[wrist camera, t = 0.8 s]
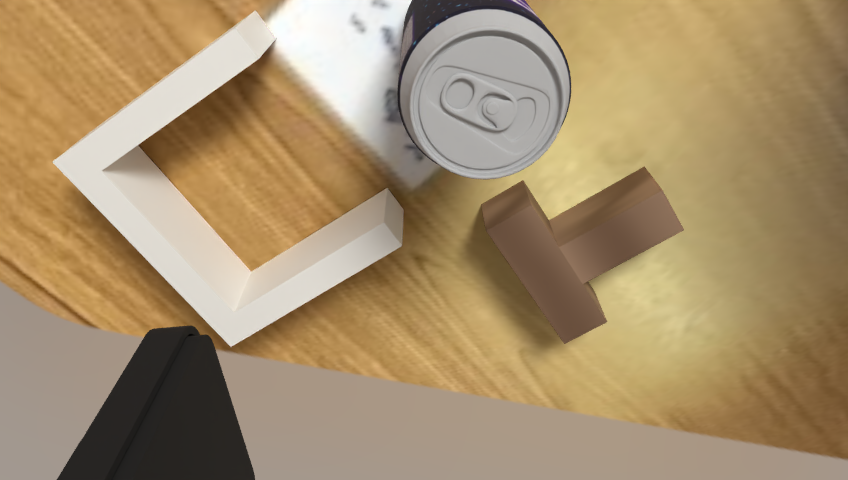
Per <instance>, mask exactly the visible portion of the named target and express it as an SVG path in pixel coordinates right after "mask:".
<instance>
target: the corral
mask: <svg viewBox="0 0 848 480" xmlns="http://www.w3.org/2000/svg"><path fill="white" fill-rule="evenodd" d="M275 39H276V37H275V36H274V34H273V33H272V32H271V30H270V29H269V28H268V26H267V25H266V24H265V22H264V21H263V20H262V18H261V17H260V16H259V14H258V13H257V12H256V10H255V11H254V12H252V13H251V14H250V15H248V16H247V17H246V18H244V19H243V20H242V21H240V22H239V23H238V24H236V25H235V26H233V27H232V28H231V29H229V30H228V31H227V32H225V33H224V34H223V35H221V36H220V37H218V38H217V39H216V40H214V41H213V42H212V43H210V44H209V45H208V46H206V47H205V48H204V49H202V50H201V51H199V52H198V53H197V54H195V55H194V56H193V57H191V58H190V59H189V60H187V61H186V62H185V63H183V64H182V65H180V66H179V67H178V68H176V69H175V70H174V71H172V72H171V73H170V74H168V75H167V76H165V77H164V78H163V79H161V80H160V81H159V82H157V83H156V84H155V85H153V86H152V87H151V88H149V89H148V90H146V91H145V92H144V93H142V94H141V95H140V96H138V97H137V98H136V99H134V100H133V101H132V102H130V103H129V104H127V105H126V106H125V107H123V108H122V109H121V110H119V111H118V112H117V113H115V114H114V115H112V116H111V117H110V118H108V119H107V120H106V121H104V122H103V123H102V124H100V125H99V126H98V127H96V128H95V129H93V130H92V131H91V132H89V133H88V134H87V135H86V136H84V137H83V138H82V139H81V140H79V141H78V142H77V143H76V144H74V145H73V146H72V147H71V148H69V149H68V150H67V151H66V152H64V153H63V154H62V155H61V156H59V157H58V158H57V159H56V160H54V161H53V163H54V164H55V165H56V166H57V167H58V168H59V169H60V170H61V171H62V173H63V174H64V175H65V176H66V177H67V178H68V179H69V180H70V181H71V182H72V183H73V184H74V185H75V186H76V187H77V188H78V189H79V190H80V191H81V192H82V193H83V194H84V195H85V196H86V197H87V198H88V199H89V201H90V202H91V203H92V204H93V205H94V206H95V207H96V208H97V209H98V210H99V211H100V212H101V213H102V214H103V215H104V216H105V217H106V218H107V219H108V220H109V221H110V222H111V223H112V224H113V225H114V226H115V227H116V228H117V230H118V231H119V232H120V233H121V234H122V235H123V236H124V237H125V238H126V239H127V240H128V241H129V242H130V243H131V244H132V245H133V246H134V247H135V248H136V249H137V250H138V251H139V252H140V253H141V254H142V255H143V256H144V258H145V259H146V260H147V261H148V262H149V263H150V264H151V265H152V266H153V267H154V268H155V269H156V270H157V271H158V272H159V273H160V274H161V275H162V276H163V277H164V278H165V279H166V280H167V281H168V282H169V283H170V284H171V286H172V287H173V288H174V289H175V290H176V291H177V292H178V293H179V294H180V295H181V296H182V297H183V298H184V299H185V300H186V301H187V302H188V303H189V304H190V305H191V306H192V307H193V308H194V309H195V310H196V311H197V312H198V313H199V315H200V316H201V317H202V318H203V319H204V320H205V321H206V322H207V323H208V324H209V325H210V326H211V327H212V328H213V329H214V330H215V331H216V332H217V333H218V334H219V335H220V336H221V337H222V338H223V339H224V340H225V341H226V343H227V344H228V345H229V346H230V347H232V346H233V345H235V344H237V343H238V342H240V341H242V340H243V339H245V338H247V337H249V336H250V335H252V334H254V333H255V332H257V331H259V330H260V329H262V328H264V327H266V326H267V325H269V324H271V323H272V322H274V321H276V320H277V319H279V318H281V317H282V316H284V315H286V314H288V313H289V312H291V311H293V310H294V309H296V308H298V307H299V306H301V305H303V304H305V303H306V302H308V301H310V300H311V299H313V298H315V297H316V296H318V295H320V294H322V293H323V292H325V291H327V290H328V289H330V288H332V287H333V286H335V285H337V284H338V283H340V282H342V281H344V280H345V279H347V278H349V277H350V276H352V275H354V274H355V273H357V272H359V271H361V270H362V269H364V268H366V267H367V266H369V265H371V264H372V263H374V262H376V261H377V260H379V259H381V258H383V257H384V256H386V255H388V254H389V253H391V252H393V251H394V250H396V249H398V248H400V247H401V246H402V238H403V215H404V209H403V208H402V207H401V205H400V204H399V203H398V201H397V200H396V199H395V197H394V196H393V195H392V193H391V192H390V191H389V189H388V188H386V189H384V190H383V191H381V192H380V193H378V194H376V195H375V196H373V197H371V198H370V199H368V200H367V201H365V202H363V203H362V204H360V205H358V206H357V207H355V208H354V209H352V210H350V211H349V212H347V213H346V214H344V215H342V216H341V217H339V218H337V219H336V220H334V221H333V222H331V223H329V224H328V225H326V226H325V227H323V228H321V229H320V230H318V231H316V232H315V233H313V234H312V235H310V236H308V237H307V238H305V239H303V240H302V241H300V242H299V243H297V244H295V245H294V246H292V247H291V248H289V249H287V250H286V251H284V252H282V253H281V254H279V255H278V256H276V257H274V258H273V259H271V260H270V261H268V262H266V263H265V264H263V265H261V266H260V267H258V268H257V269H255V270H253V271H252V272H251V271H250V270H249V269H248V268H247V267H246V265H245V264H244V263H243V262H242V261H241V260H240V259H239V258H238V257H237V255H236V254H235V253H234V252H233V251H232V250H231V249H230V248H229V246H228V245H227V244H226V243H225V242H224V241H223V240H222V239H221V238H220V236H219V235H218V234H217V233H216V232H215V231H214V230H213V229H212V227H211V226H210V225H209V224H208V223H207V222H206V221H205V220H204V219H203V217H202V216H201V215H200V214H199V213H198V212H197V211H196V210H195V208H194V207H193V206H192V205H191V204H190V203H189V202H188V201H187V199H186V198H185V197H184V196H183V195H182V194H181V193H180V192H179V191H178V189H177V188H176V187H175V186H174V185H173V184H172V183H171V182H170V180H169V179H168V178H167V177H166V176H165V175H164V174H163V173H162V172H161V170H160V169H159V168H158V167H157V166H156V165H155V164H154V163H153V161H152V160H151V159H150V158H149V157H148V156H147V155H146V154H145V153H144V151H143V150H142V149H141V148H140V147H139V146H138V145H139V144H140V143H142V142H143V141H144V140H146V139H147V138H149V137H150V136H151V135H153V134H154V133H156V132H157V131H158V130H160V129H161V128H163V127H164V126H165V125H167V124H168V123H170V122H171V121H172V120H174V119H175V118H177V117H178V116H179V115H181V114H182V113H184V112H185V111H186V110H188V109H189V108H191V107H192V106H193V105H195V104H196V103H198V102H199V101H200V100H202V99H203V98H205V97H206V96H207V95H209V94H210V93H212V92H213V91H214V90H216V89H217V88H219V87H220V86H222V85H223V84H224V83H226V82H227V81H229V80H230V79H231V78H233V77H234V76H236V75H237V74H238V73H240V72H241V71H243V70H244V69H245V68H247V67H248V66H250V65H251V64H252V63H254V62H255V61H257V60H258V59H259V58H260V57H261V56H262V55H263V53H264V52H265V51H266V50H267V49H268V48H269V46H270V45H271V44H272V43H273V42H274V41H275Z"/></svg>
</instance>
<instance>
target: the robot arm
mask: <svg viewBox="0 0 848 480" xmlns="http://www.w3.org/2000/svg"><path fill="white" fill-rule="evenodd" d="M57 480H255V475H254V472H253V468H252V465H251V461H250V458H249V455H248V452H247V449H246V445H245V443H244V439H243V436H242V433H241V430H240V426H239V424H238V420H237V417H236V414H235V411H234V408H233V405H232V401H231V398H230V395H229V392H228V388H227V385H226V382H225V379H224V376H223V373H222V370H221V367H220V363H219V360H218V357H217V354H216V350H215V347H214V344H213V342H212V339H211V338H210V337H209V336H208V335H200V334H199V332H198V330H197V329H196V328H195V327H193V326H180V327H169V328H157V329H152V330H150V331H149V332H148V333H147V334H146V335H145V337H144V339H143V340H142V342H141V344H140V345H139V347H138V349H137V350H136V352H135V353H134V355H133V357H132V358H131V360H130V362H129V363H128V365H127V367H126V368H125V370H124V371H123V373H122V375H121V376H120V378H119V380H118V381H117V383H116V385H115V386H114V388H113V390H112V391H111V393H110V394H109V396H108V398H107V399H106V401H105V403H104V404H103V406H102V408H101V409H100V411H99V413H98V414H97V416H96V417H95V419H94V421H93V422H92V424H91V426H90V427H89V429H88V430H87V432H86V434H85V436H84V437H83V439H82V440H81V441H80V443H79V444H78V446H77V448H76V449H75V451H74V453H73V454H72V456H71V458H70V459H69V461H68V462H67V464H66V466H65V467H64V469H63V471H62V472H61V474H60V476H59V477H58V479H57Z"/></svg>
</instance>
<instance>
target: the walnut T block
mask: <svg viewBox="0 0 848 480" xmlns="http://www.w3.org/2000/svg"><path fill="white" fill-rule="evenodd" d="M481 207H482V212H483V217H484V223H485V228H486V232H487V233H488V234H489V236H490V237H491V239H492V240H493V242H494V243H495V245H496V246H497V247H498V249H499V250H500V252H501V253H502V255H503V256H504V258H505V259H506V260H507V262H508V263H509V265H510V266H511V268H512V269H513V270H514V272H515V273H516V275H517V276H518V278H519V279H520V281H521V282H522V283H523V285H524V286H525V288H526V289H527V291H528V292H529V294H530V295H531V296H532V298H533V299H534V301H535V302H536V304H537V305H538V306H539V308H540V309H541V311H542V312H543V314H544V315H545V317H546V318H547V319H548V321H549V322H550V324H551V325H552V327H553V328H554V330H555V331H556V332H557V334H558V335H559V337H560V338H561V340H562V341H563V343H564V344H565V343H567V342H569V341H571V340H573V339H575V338H577V337H579V336H581V335H583V334H585V333H587V332H589V331H591V330H592V329H594V328H596V327H598V326H600V325H602V324H604V323H606V322H607V320H606V318H605V316H604V313H603V311H602V308H601V306H600V304H599V301H598V299H597V296H596V294H595V292H594V290H593V288H592V287H591V285H590V284H589V282H588V281H589V280H591V279H593V278H595V277H597V276H599V275H601V274H602V273H604V272H606V271H608V270H610V269H612V268H614V267H616V266H617V265H619V264H621V263H623V262H625V261H627V260H629V259H631V258H632V257H634V256H636V255H638V254H640V253H642V252H644V251H646V250H648V249H649V248H651V247H653V246H655V245H657V244H659V243H661V242H663V241H664V240H666V239H668V238H670V237H672V236H674V235H676V234H678V233H679V232H681V231H683V230H684V229H683V227H682V225H681V223H680V222H679V220H678V218H677V216H676V214H675V212H674V211H673V209H672V207H671V205H670V203H669V201H668V200H667V198H666V196H665V194H664V192H663V190H662V189H661V188H660V186H659V185H658V184H657V182H656V181H655V180H654V179H653V177H652V176H651V175H650V173H649V172H648V171H647V169H646V168H645V167H643V168H641V169H639V170H638V171H636V172H634V173H632V174H630V175H629V176H627V177H625V178H623V179H622V180H620V181H618V182H616V183H615V184H613V185H611V186H609V187H607V188H606V189H604V190H602V191H600V192H599V193H597V194H595V195H593V196H591V197H590V198H588V199H586V200H584V201H583V202H581V203H579V204H577V205H576V206H574V207H572V208H570V209H568V210H567V211H565V212H563V213H561V214H560V215H558V216H556V217H554V218H553V219H551V220H548V218H547V217H546V215H545V214H544V212H543V211H542V209H541V207H540V206H539V204H538V203H537V201H536V200H535V198H534V196H533V195H532V193H531V192H530V190H529V189H528V187H527V186H526V184H525V182H524V181H523V180H522V181H521V182H519V183H517V184H516V185H514V186H512V187H511V188H509V189H507V190H505V191H504V192H502V193H500V194H499V195H497V196H495V197H494V198H492V199H490V200H488V201H487V202H485V203H483V204H482V205H481Z"/></svg>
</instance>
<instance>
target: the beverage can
mask: <svg viewBox="0 0 848 480" xmlns="http://www.w3.org/2000/svg"><path fill="white" fill-rule="evenodd" d="M570 98H571V77H570V71H569V66H568V63H567V60H566V57H565V55H564V52H563V50H562V49H561V47H560V45H559V43H558V42H557V40H556V39H555V38H554V36H553V35H552V34H551V33H550V31H549V30H548V29H547V28H546V26H545V25H544V24H543V23H542V21H541V20H540V19H539V18H538V16H537V15H536V14H535V13H534V11H533V10H532V9H531V8H530V6H529V5H528V4H527V3H526V1H525V0H412V2H411V4H410V6H409V8H408V11H407V14H406V17H405V22H404V30H403V40H402V50H401V61H400V71H399V81H398V106H399V112H400V116H401V119H402V122H403V125H404V127H405V129H406V131H407V133H408V135H409V137H410V138H411V140H412V141H413V143H414V144H415V145H416V146H417V147H418V149H419V150H420V151H421V152H422V153H423V154H424V155H426V156H427V157H428V158H429V159H431V160H432V161H433V162H435V163H436V164H438V165H440V166H441V167H443V168H445V169H447V170H448V171H450V172H452V173H455V174H458V175H460V176H463V177H468V178H473V179H496V178H501V177H505V176H509V175H512V174H514V173H517V172H519V171H521V170H523V169H525V168H526V167H528V166H530V165H531V164H533V163H534V162H535V161H536V160H538V159H539V158H540V157H541V156H542V155H543V154H544V153H545V152H546V151H547V150H548V148H549V147H550V146H551V144H552V143H553V141H554V140H555V138H556V136H557V134H558V132H559V130H560V128H561V126H562V124H563V122H564V120H565V118H566V115H567V112H568V108H569V104H570Z"/></svg>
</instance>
